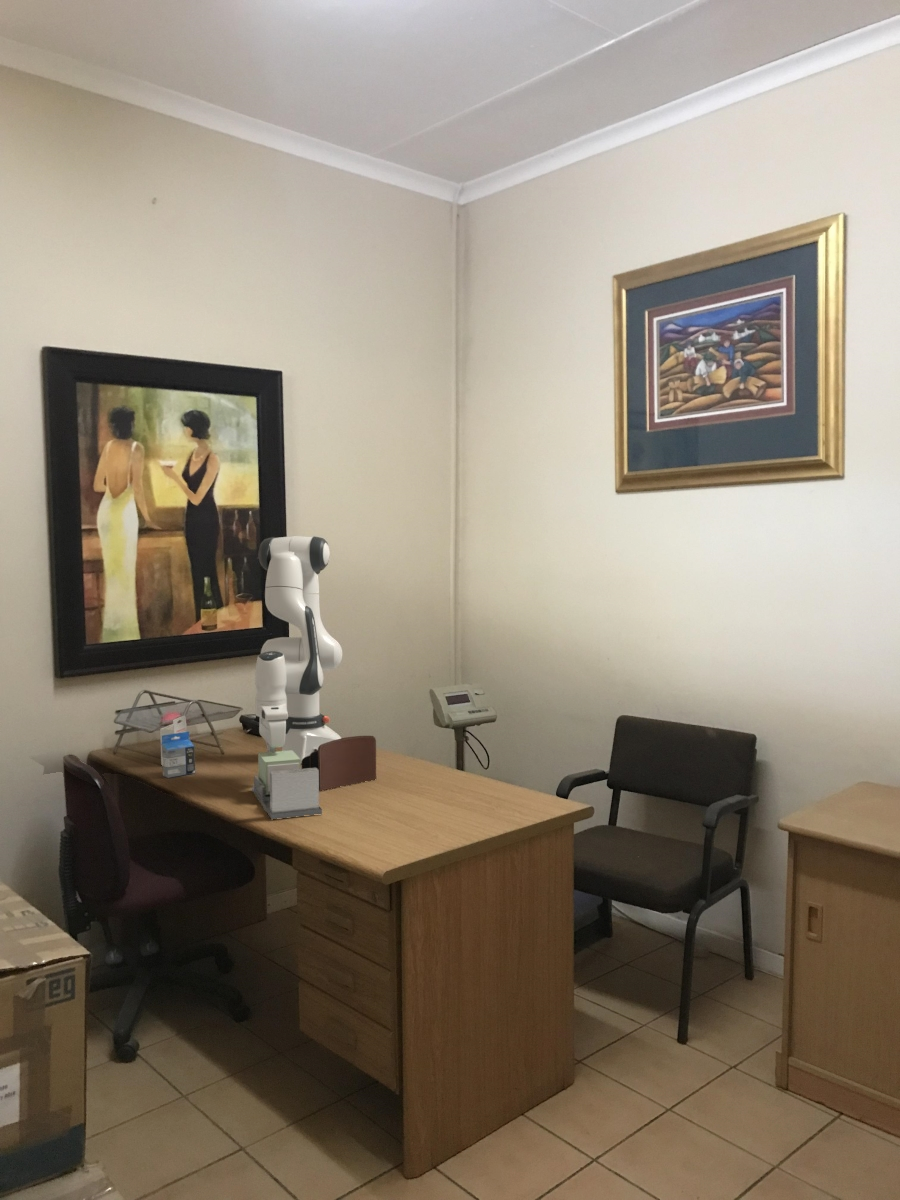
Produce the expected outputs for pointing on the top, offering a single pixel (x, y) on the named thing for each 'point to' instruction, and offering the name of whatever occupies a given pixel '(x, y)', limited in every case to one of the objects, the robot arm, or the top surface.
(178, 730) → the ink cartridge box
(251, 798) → the top surface
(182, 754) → the label tape box
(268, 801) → the tray
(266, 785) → the pale green block
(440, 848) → the top surface
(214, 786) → the top surface
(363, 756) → the letter holder
